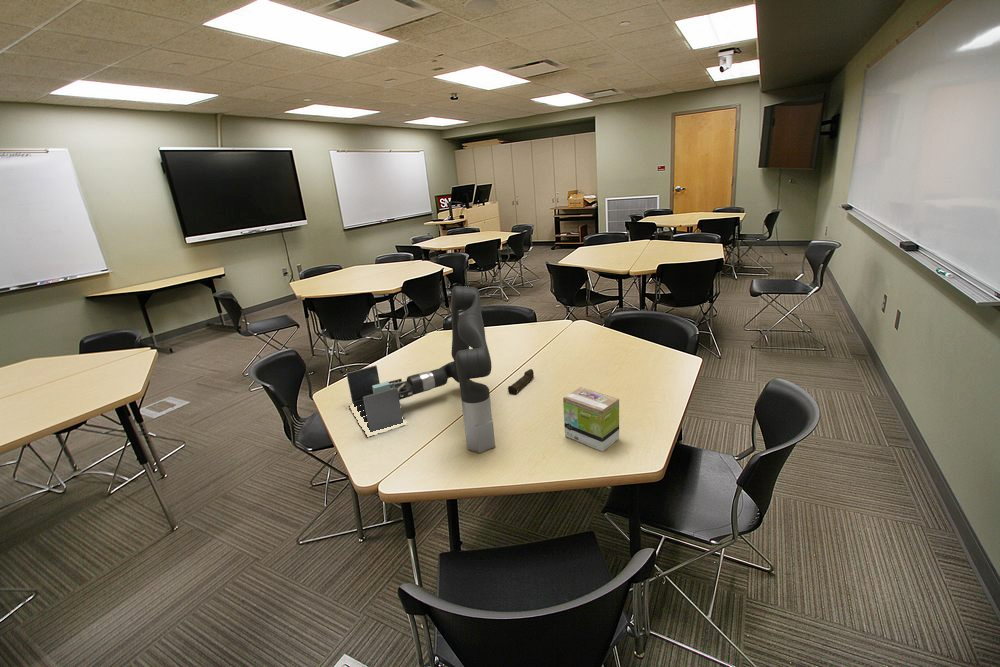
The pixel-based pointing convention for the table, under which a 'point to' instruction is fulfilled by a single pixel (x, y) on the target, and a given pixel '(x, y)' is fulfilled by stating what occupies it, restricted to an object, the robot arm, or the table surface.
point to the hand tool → (521, 382)
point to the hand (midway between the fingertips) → (380, 394)
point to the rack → (374, 399)
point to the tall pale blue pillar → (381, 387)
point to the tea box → (591, 418)
